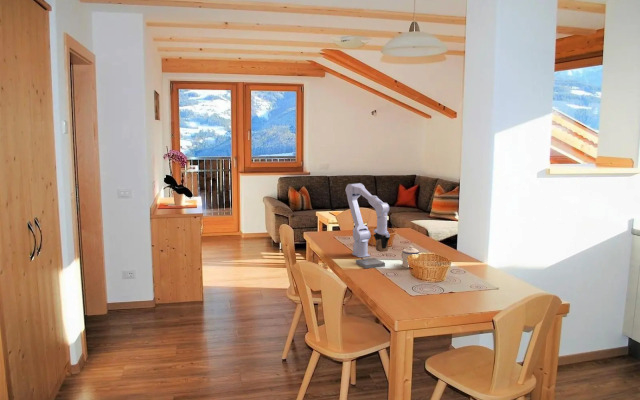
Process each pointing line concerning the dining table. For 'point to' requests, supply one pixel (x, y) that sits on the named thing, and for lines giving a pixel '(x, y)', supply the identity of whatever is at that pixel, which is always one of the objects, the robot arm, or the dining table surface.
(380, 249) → the walnut block
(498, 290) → the dining table surface
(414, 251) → the teacup with lid
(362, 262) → the slate trivet
